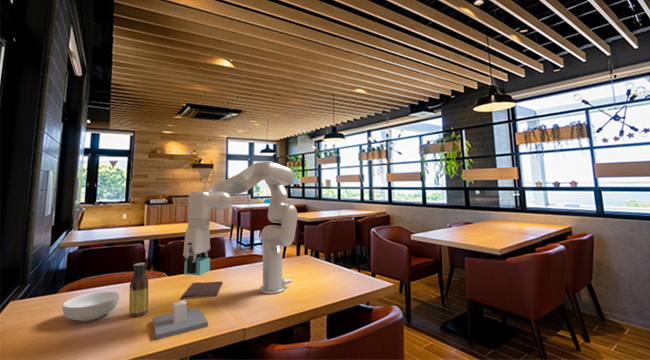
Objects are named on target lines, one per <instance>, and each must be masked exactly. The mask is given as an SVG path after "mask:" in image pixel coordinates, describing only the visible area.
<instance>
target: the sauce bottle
mask: <svg viewBox="0 0 650 360" xmlns="http://www.w3.org/2000/svg"><path fill="white" fill-rule="evenodd" d="M132 268H133V276H132V279H131V282H130V283H129V310H128V311H129V316H130V317H133V318H134V317H142V316H143V315H146V314H147V313H148V312H149V278H148V277H147V276H146V263H145V262H137V263H134V264H133V267H132Z"/></svg>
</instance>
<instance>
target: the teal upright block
mask: <svg viewBox="0 0 650 360" xmlns="http://www.w3.org/2000/svg"><path fill="white" fill-rule="evenodd" d="M195 262H196V273H194V274H191V273H187V262H186V259H184V263H183V264H184V266H183V267H184V269H183V270H184V271H183V275H187V276H202V275H204V274H206V273H209V272H210V271H211V257H208V258H201V257H200V256H198V257H197V256H196V259H195Z"/></svg>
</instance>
